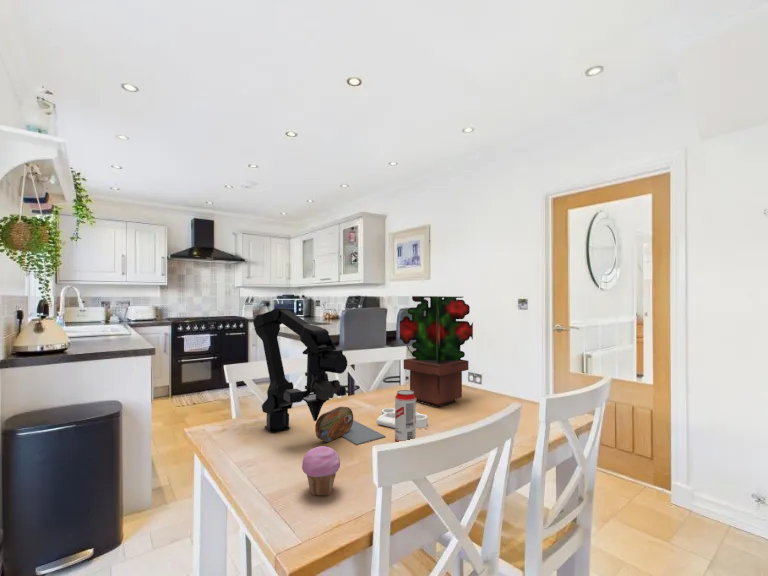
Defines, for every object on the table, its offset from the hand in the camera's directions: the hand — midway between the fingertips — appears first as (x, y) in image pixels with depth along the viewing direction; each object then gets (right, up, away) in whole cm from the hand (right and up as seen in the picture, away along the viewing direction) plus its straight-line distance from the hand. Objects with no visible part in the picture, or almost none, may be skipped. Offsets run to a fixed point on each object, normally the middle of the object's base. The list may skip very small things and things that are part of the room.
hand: (315, 421), depth 115 cm
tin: (+6, -7, +4) cm, 10 cm away
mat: (+12, -7, +9) cm, 16 cm away
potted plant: (+43, -8, +45) cm, 63 cm away
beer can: (+28, -7, -2) cm, 28 cm away
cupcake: (+7, -6, -29) cm, 30 cm away
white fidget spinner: (+27, -8, +18) cm, 34 cm away
